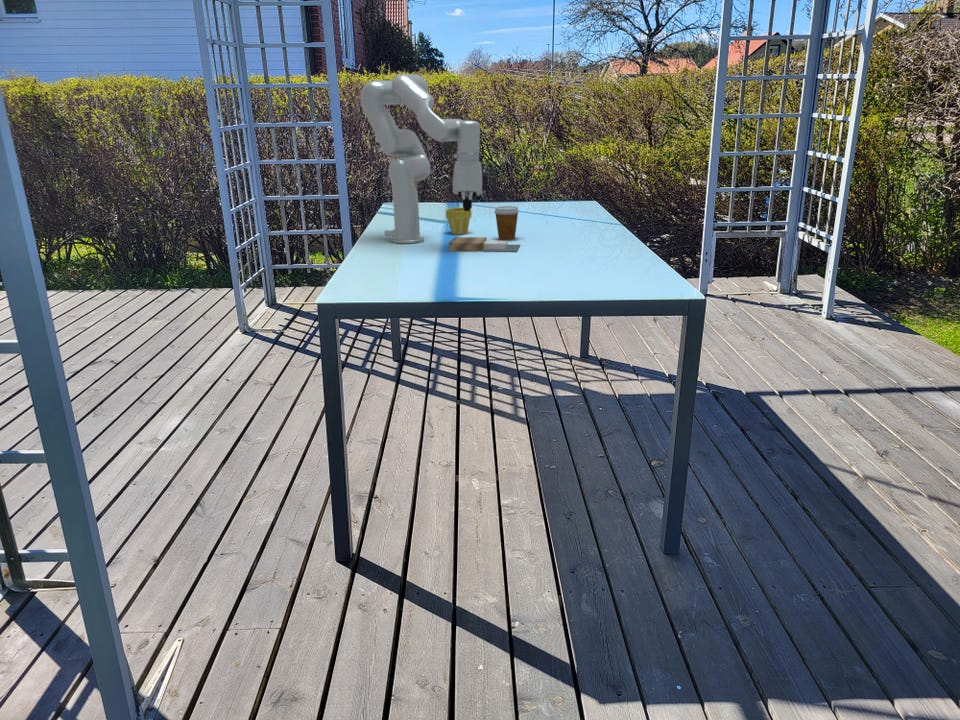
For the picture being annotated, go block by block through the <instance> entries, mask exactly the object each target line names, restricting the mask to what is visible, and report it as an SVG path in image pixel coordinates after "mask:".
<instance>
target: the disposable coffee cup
mask: <svg viewBox="0 0 960 720" xmlns="http://www.w3.org/2000/svg"><path fill="white" fill-rule="evenodd" d="M493 212H494V214H495V219H496V228H497V234H498V236H497V237H498V241H514V240H516V234H517V233H516V231H517V225H518V215H519V212H520V210H519V207H517V206H506V205H504V206H497V207H495V209H494V211H493ZM513 239H514V240H513Z"/></svg>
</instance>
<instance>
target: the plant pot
mask: <svg viewBox="0 0 960 720" xmlns="http://www.w3.org/2000/svg"><path fill="white" fill-rule="evenodd" d="M445 216H446V219H447V221H448V225H449V229H450V232H451V234H452V235H466V233H467V234H468V231H469V227H470V220H471V219H470V218H472V209H470V211H464V208H463V207H452V208H451V207H450V208H447V209H445Z"/></svg>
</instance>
